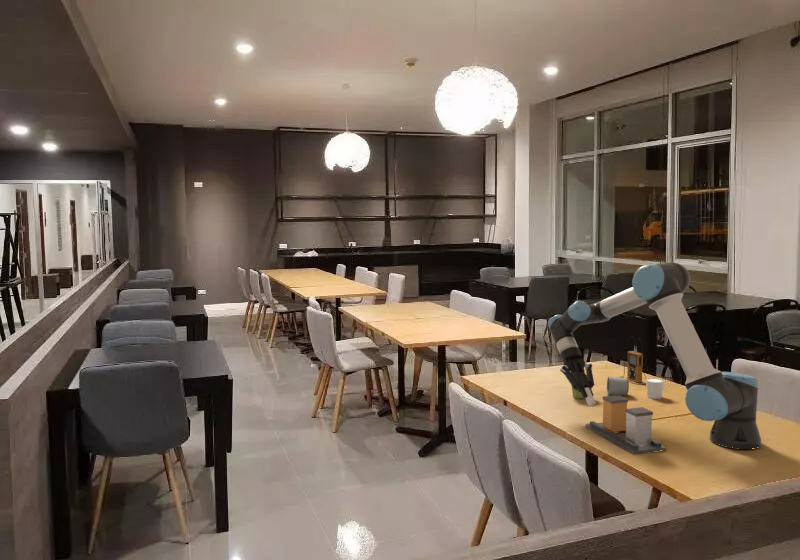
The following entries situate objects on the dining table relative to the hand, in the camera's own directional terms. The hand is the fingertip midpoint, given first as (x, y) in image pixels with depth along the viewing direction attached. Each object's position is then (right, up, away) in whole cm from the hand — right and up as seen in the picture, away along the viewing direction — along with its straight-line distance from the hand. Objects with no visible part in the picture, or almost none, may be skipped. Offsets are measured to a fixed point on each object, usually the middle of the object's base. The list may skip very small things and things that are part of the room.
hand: (592, 404), depth 241 cm
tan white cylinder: (+35, -3, +32) cm, 47 cm away
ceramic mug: (+21, -3, +37) cm, 42 cm away
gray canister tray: (+5, -8, -18) cm, 20 cm away
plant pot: (+4, -3, +32) cm, 33 cm away
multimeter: (+33, 0, +57) cm, 66 cm away
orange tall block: (+4, -6, -13) cm, 15 cm away
